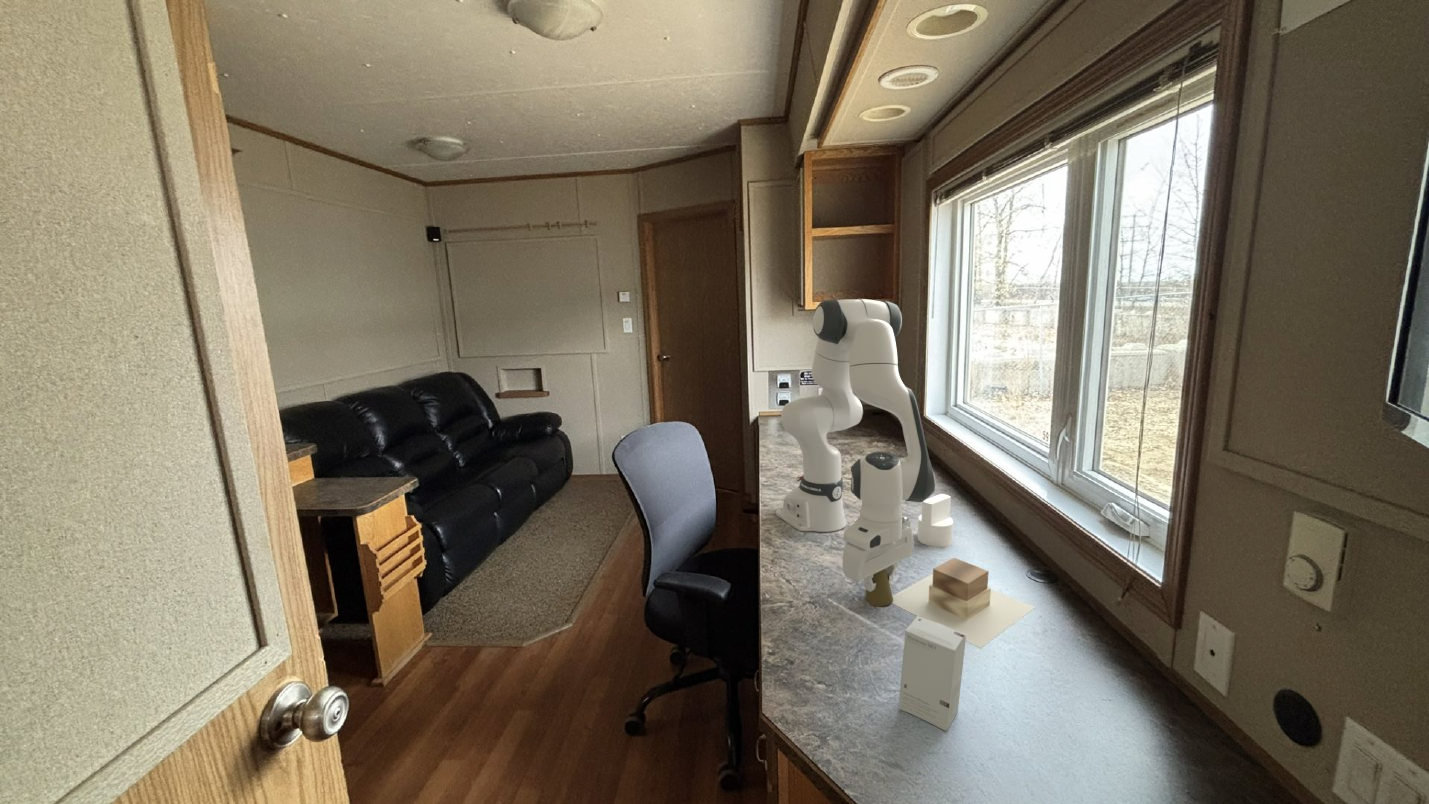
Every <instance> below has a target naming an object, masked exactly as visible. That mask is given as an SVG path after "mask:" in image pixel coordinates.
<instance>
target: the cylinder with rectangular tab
mask: <svg viewBox="0 0 1429 804" xmlns="http://www.w3.org/2000/svg"><path fill="white" fill-rule="evenodd" d="M951 501H952V497H951V496H950V495H948V494H945V493H938V495H934V496H932V497H931V496H930V497H928V498H927V499H926V500H924V501H923V502H921V514H920V515H918V520H917V540H918V541H919V542H920V543H921V544H923V545H926V546H929V547H931V546H932V547H934V548H945V547H946V548H947V547H950V546H951V545H952V544H953V542H954V541H953V539H954V538H953V537H954V536H953V535H954V520H953V518H952V517H951V507H952V506H951V505H952V503H951Z"/></svg>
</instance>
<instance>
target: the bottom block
mask: <svg viewBox="0 0 1429 804" xmlns="http://www.w3.org/2000/svg"><path fill="white" fill-rule="evenodd" d="M991 589H992V588H991V587H987V589H985V590H984V591H982V592H981V593H979V594H978V595H976V596H974V597H973V598H971V599H970V600H968V601H966V600H963V599H961V598H959V597H957V596H955V595H952V594H950V593H948V592H946V591H943V590H941V589H939V588H937V587H935V586H933V584H931V585H929V601H928V602H930V603H932V604H934V605H936V606H938V607H940V608H942V609H944V610H946V611H948V612H950V613H953V614H955V615H957V616H959V617H961V618H963V619H965V620H968V619H970V618H971V617H973V616H974V615H976V614H977V613H979V612H980V611H982V610H983V609H985V608H986V607H988V606H989V605H990V595H991Z"/></svg>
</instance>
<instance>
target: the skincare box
mask: <svg viewBox="0 0 1429 804" xmlns="http://www.w3.org/2000/svg"><path fill="white" fill-rule="evenodd" d="M915 616H916V615H915ZM903 641H904V643H903V656H902V664H901V677H900V688H899V700H898V701H899V703H898V707H899V710H901V711H903V712H906V713H908V714H910V715H912V716H915V717H917V718H919V719H921V720H924V721H926V722H928V723H929V724H932V725H933V726H935V727H937V728H939V729H941V730H942V731H945V732H948V731H949V728H950V726H951V725H952V723H953V721H954V719H955V718H956V715H957V714H958V712H959V705H960V696H961V695H960V694H961V687H962V686H961V685H962V677H963V667H964V660H965V659H964V658H965V657H964V656H965V650H966V649H965V648H966V642H967V641H966V634H963V633H961V632H958V631H956V630H953V629H950V628H948V627H946V626H944V625H942V624H940V623H936V622H932V621H929V620H927V619H924V618H921V617H919V616H916V617H915V618H914V619H913V621H912V622H911V623H910V624H909V626H908V627H907V628H906V629H905V633H904V640H903Z"/></svg>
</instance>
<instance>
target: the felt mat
mask: <svg viewBox="0 0 1429 804" xmlns="http://www.w3.org/2000/svg"><path fill="white" fill-rule="evenodd" d="M931 584H933V573H931V574H930V575H928V576H926V577H924V578H923V579H921V580H919V581H916V582H915V583H913V584H912V585H910V586H908V587H906V588H904V589H902V590H901V591H899V592H897V593H895V594H892V596H893V602H892V603H891V604H893V605H894V606H896V607H898V608H900V609H903V610H904V611H906V612H908V613H911V615H912V614H913V615H914V616H919V617H921V618H924V619H927V620H929V621H932V622H936V623H940V624H942V625H944V626H946V627H948V628H950V629H953V630H956V631H958V632H961V633H963V634H966V641H965V642H967V643H969V644H970V645H972V646H975V647H977V648H979V649H982V648H983V647H984V646H986V645H987V644H989V643H990V642H991V641H993V640H994V639H995V638H996V637H998V636H1000V634H1002V633H1004V632H1005V631H1006V630H1007V629H1008V628H1010V627H1011V626H1013V625H1014V624H1015V623H1017V622H1018V621H1020V620H1021V619H1022V618H1024V617H1025V616H1027V614H1029V613H1031V612H1032V611H1033V610H1034V609H1036V607H1035V606H1033V605H1030V604H1028V603H1025V602H1024V601H1021V600H1018V599H1016V598H1013V597H1011V596H1009V595H1006V594H1004V593H1002V592H999V591H997V590H995V589H992V588H991V595H990V605H989V606H988V607H986V608H985V609H983V610H982V611H980V612H979V613H977V614H976V615H974V616H973V617H971V618H970V619H968V620H965V619H963V618H961V617H959V616H957V615H955V614H953V613H950V612H948V611H946V610H944V609H942V608H940V607H938V606H936V605H934V604H932V603H930V602H928V601H929V585H931Z"/></svg>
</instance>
